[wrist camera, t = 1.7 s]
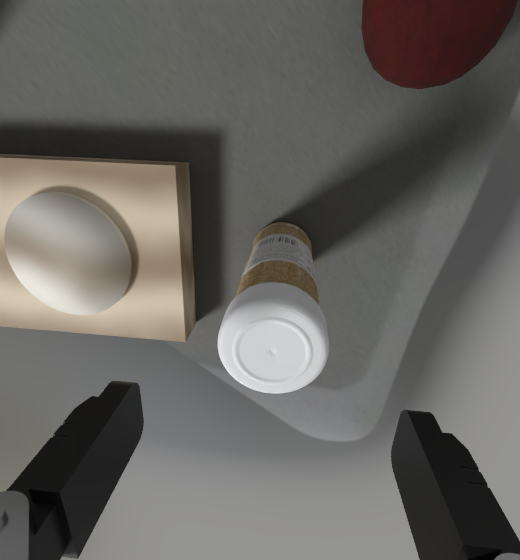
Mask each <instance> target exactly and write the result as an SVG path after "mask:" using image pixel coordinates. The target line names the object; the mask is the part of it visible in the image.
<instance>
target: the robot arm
mask: <svg viewBox="0 0 520 560" xmlns="http://www.w3.org/2000/svg"><path fill="white" fill-rule="evenodd" d="M143 423H144V420H143V411H142V404H141V395H140V388H139V385H138V384H137V383H133V382H122V381H112V382H110V383H109V385H108V386H107V387H106V388H105V389H104V391H103V392H102V393H101V395H100V396H99V397H95V396H92V397H90V398H89V399H87V400H86V401H85V402H83V403H82V404H80V405H79V406H77V407H76V408H75V409H74V410H73V411H72V413H71V414H70V415H69V416H68V417H67V419H66V420H65V421H64V422H63V425H61V426H60V427H59V428H58V429H57V431H56V432H55V433H54V434H53V438H50V439H49V440H48V442H47V443H46V444H45V445H44V446H43V448H42V449H41V450H40V451H39V453H38V454H37V455H36V456H35V457H34V458H33V460H32V461H31V462H30V463H29V465H28V466H27V467H26V468H25V469H24V471H23V472H22V473H21V474H20V476H19V477H18V478H17V479H16V480H15V481H14V483H13V484H12V485H11V486H10V487H9V488H8V489H7V491H4V492H0V560H60V559H61V557H70V558H77V559H78V558H79V556H80V554H81V552H82V550H83V548H84V546H85V544H86V542H87V540H88V539H89V537H90V535H91V533H92V531H93V529H94V527H95V525H96V523H97V521H98V519H99V517H100V515H101V514H102V512H103V510H104V508H105V506H106V504H107V502H108V500H109V498H110V496H111V494H112V492H113V490H114V488H115V487H116V485H117V483H118V481H119V479H120V477H121V475H122V473H123V471H124V469H125V467H126V466H127V464H128V462H129V460H130V458H131V456H132V454H133V452H134V450H135V448H136V446H137V444H138V442H139V440H140V438H141V435H142V431H143ZM391 461H392V468H393V472H394V475H395V479H396V482H397V485H398V489H399V492H400V495H401V499H402V502H403V505H404V508H405V512H406V515H407V519H408V522H409V525H410V529H411V532H412V535H413V538H414V542H415V545H416V548H417V552H418V555H419V559H420V560H520V541H519V539H518V538H517V536H516V534H515V532H514V531H513V529H512V527H511V525H510V523H509V522H508V520H507V518H506V516H505V514H504V513H503V511H502V509H501V507H500V506H499V504H498V502H497V500H496V498H495V497H494V495H493V493H492V491H491V490H490V488H488V487H487V483H486V481H485V479H484V478H483V475H482V474H481V472H479V470H478V467H477V465H476V463H475V461H474V460H473V458H472V456H471V454H470V452H469V451H468V449H466V447H465V446H464V445H463V444H461V442H460V441H458V440H457V439H456V437H455V436H453V434H449V433H442V431H441V429H440V427H439V425H438V423H437V421H436V419H435V417H434V416H433V414H432V413H430V412H421V411H411V410H403V411H402V412H401V414H400V418H399V421H398V426H397V429H396V433H395V437H394V441H393V445H392V451H391Z"/></svg>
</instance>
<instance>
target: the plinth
mask: <svg viewBox="0 0 520 560" xmlns="http://www.w3.org/2000/svg"><path fill="white" fill-rule="evenodd" d="M195 323H196V311H195V289H194V266H193V243H192V220H191V197H190V174H189V162H167V161H145V160H123V159H102V158H80V157H58V156H36V155H14V154H0V326H5V327H16V328H30V329H41V330H52V331H64V332H76V333H87V334H98V335H110V336H123V337H134V338H146V339H158V340H169V341H181V342H186V340H187V338H188V337H189V335H190V333H191V331H192V329H193V327H194V325H195Z"/></svg>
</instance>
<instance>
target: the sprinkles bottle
mask: <svg viewBox="0 0 520 560" xmlns="http://www.w3.org/2000/svg"><path fill="white" fill-rule="evenodd" d="M218 351H219V356H220V359H221V361H222V363H223V365H224V367H225V368H226V370H227V371H228V372H229V374H230V375H231V376H232V377H233V378H235V379H236V380H237V381H238V382H240V383H241V384H243V385H245V386H246V387H248V388H251V389H253V390H256V391H260V392H265V393H287V392H291V391H295V390H297V389H300V388H302V387H304V386H306V385H307V384H309V383H310V382H312V381H313V380H314V379H315V378H316V377H317V376H318V375H319V374H320V373H321V371H322V369H323V368H324V366H325V364H326V362H327V359H328V353H329V339H328V332H327V326H326V321H325V317H324V314H323V312H322V310H321V308H320V307H319V301H318V288H317V282H316V276H315V269H314V263H313V258H312V246H311V242H310V240H309V238H308V236H307V234H306V233H305V232H304V231H303V230H302V229H301V228H299V227H298V226H296V225H294V224H290V223H286V222H285V223H282V222H277V223H273V224H270V225H268V226H267V227H265V228H264V229H262V230H261V231H260V232H259V233H258V235H257V236H256V237H255V239H254V242H253V247H252V252H251V255H250V257H249V258H248V261H247V263H246V266H245V269H244V272H243V274H242V279H241V282H240V284H239V288H238V291H237V294H236V297H235V298H234V299H233V300H232V302H231V303H230V305H229V306H228V308H227V310H226V313H225V316H224V318H223V321H222V324H221V327H220V331H219V335H218Z"/></svg>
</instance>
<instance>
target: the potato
mask: <svg viewBox="0 0 520 560" xmlns="http://www.w3.org/2000/svg"><path fill="white" fill-rule="evenodd" d="M517 1H518V0H363V8H362V34H363V41H364V47H365V52H366V54H367V56H368V58H369V60H370V63H371V65H372V67H373V69H374V70H375V71H376V72H377V73H379V74H380V75H381V76H382V77H383V78H384V79H385V80H387V81H389V82H391V83H393V84H396V85H398V86H400V87H407V88H415V89H423V88H428V87H434V86H440V85H444V84H446V83H448V82H450V81H453V80H455V79H457V78H459V77H461V76H463V75H464V74H465V73H467V72H468V71H469V70H471V69H472V68H473V67H475V66H476V65H477V64H478V63H479V62H480V61H481V60H482V59H483V58H484V57H485V56H486V55H487V54H488V53H489V52H490V50H491V49H492V48H493V47H494V46H495V45H496V43H497V41H498V40H499V38H500V36H501V35H502V33H503V31H504V30H505V28H506V26H507V24H508V23H509V21H510V19H511V18H512V16H513V13H514V10H515V7H516V4H517Z"/></svg>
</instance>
